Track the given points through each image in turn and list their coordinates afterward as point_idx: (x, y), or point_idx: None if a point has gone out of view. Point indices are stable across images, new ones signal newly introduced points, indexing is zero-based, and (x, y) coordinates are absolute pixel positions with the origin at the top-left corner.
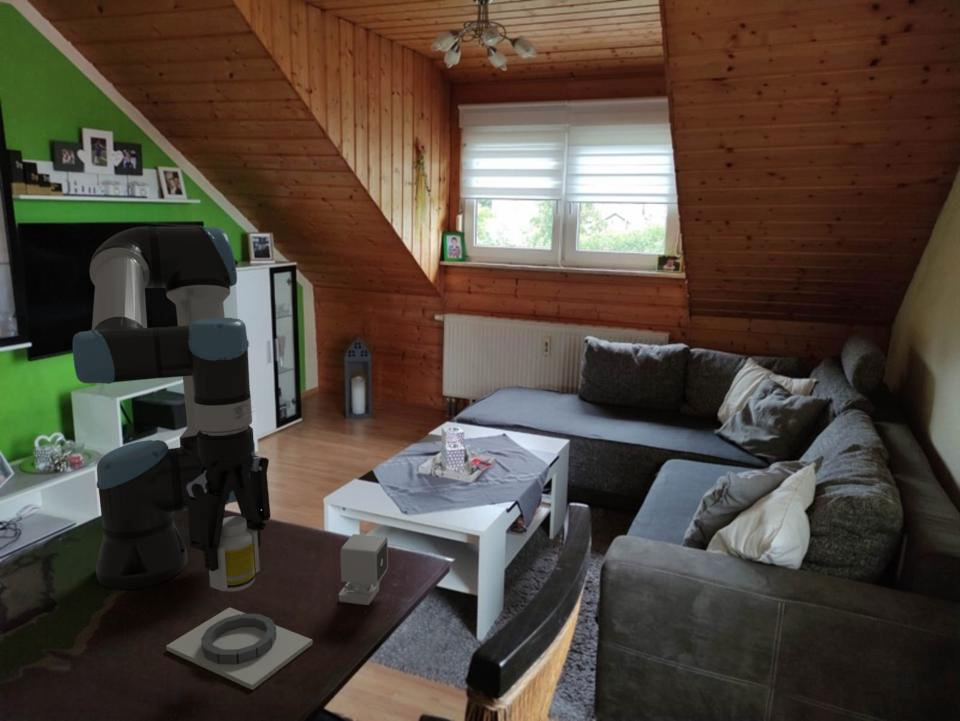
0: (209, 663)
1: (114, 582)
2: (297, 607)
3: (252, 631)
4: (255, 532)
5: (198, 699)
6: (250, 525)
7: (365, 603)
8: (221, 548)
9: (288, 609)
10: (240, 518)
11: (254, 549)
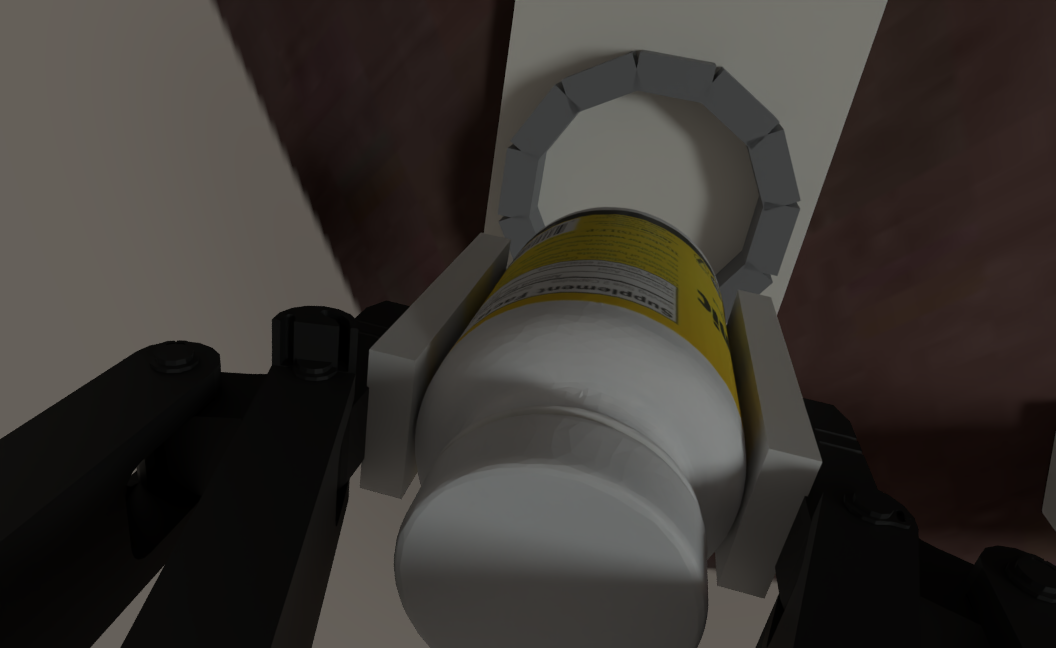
0: (500, 171)
1: None
2: (984, 260)
3: (727, 204)
4: (741, 587)
5: (376, 233)
6: (790, 565)
7: (1045, 507)
8: (377, 487)
9: (960, 230)
10: (650, 643)
11: None
